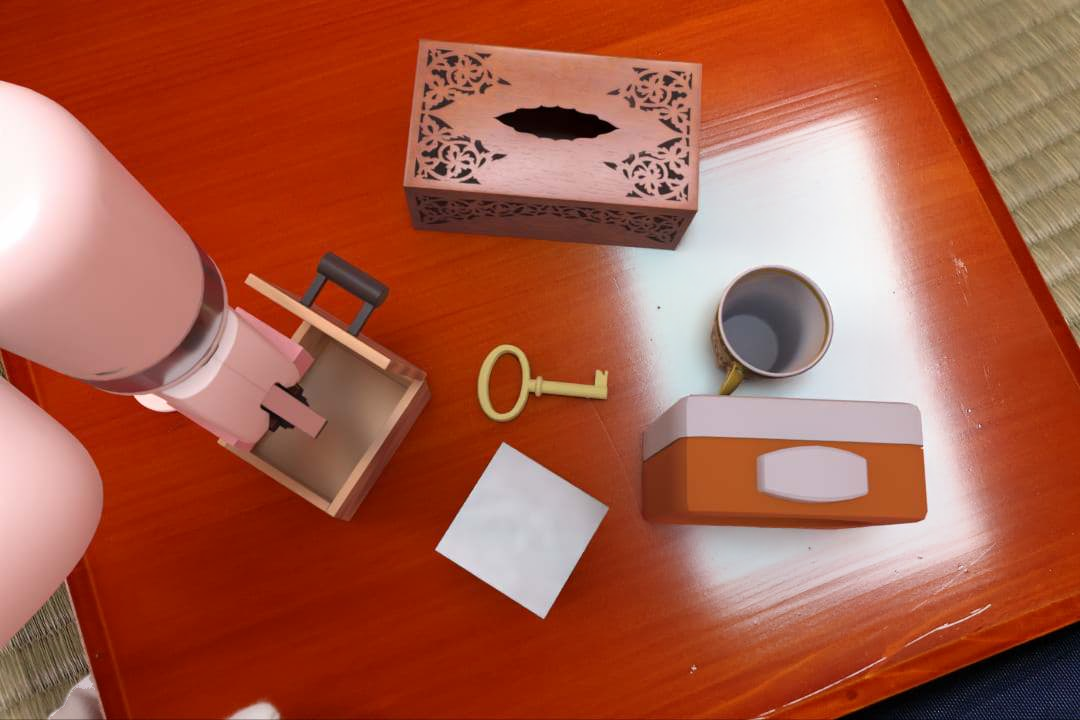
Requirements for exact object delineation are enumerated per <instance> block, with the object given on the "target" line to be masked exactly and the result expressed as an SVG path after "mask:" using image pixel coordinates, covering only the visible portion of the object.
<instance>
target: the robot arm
mask: <svg viewBox="0 0 1080 720" xmlns="http://www.w3.org/2000/svg"><path fill="white" fill-rule="evenodd" d="M0 349H3V350H4V351H7V352H10V353H12V354H13V355H17V356H19V357H21V358H24V359H26V360H28V361H31V362H33V363H35V364H38V365H40V366H43V367H44V368H48V369H50V370H52V371H55V372H57V373H59V374H62V375H64V376H67V377H69V378H71V379H74V380H76V381H79V382H81V383H84V384H86V385H88V386H91V387H93V388H96V389H97V390H99V391H103V392H106V393H109V394H113V395H118V396H119V395H120V396H130V397H131V396H134V395H146V394H151V393H153V394H155V395H156V396H158V397H160V398H162V399H164V400H165V401H167V402H169V403H171V404H173V405H175V406H176V407H178V408H180V409H182V410H184V411H186V412H188V413H190V414H192V415H194V416H195V417H197V418H199V419H201V420H203V421H205V422H207V423H209V424H211V425H213V426H215V427H217V428H218V429H220V430H222V431H224V432H226V433H228V434H229V435H231V436H233V437H235V438H236V439H238V440H240V441H242V442H244V443H255V442H258V441H259V439H260V438H261V437H262V436H263V435H264V434H265V432H266V431H267V430H270V431H272V432H275V431H276V430H277V429H278V428H279V426H281V427H283V428H284V429H287V428H289V429H294V427H295V426H296V427H297V428H299V429H300V430H302V431H304V432H305V433H307V434H308V435H310V436H311V437H313V438H315V439H317V437H318V436H319V434H320V433H321V431H322V430H323V429H324V427H325V426H326V424H327V423H328V420H327V419H325V418H324V417H322V416H321V415H319V414H318V413H316V412H315V411H314V410H312V409H311V408H309V406H310V405H309V404H308V402H307V398H305V397H304V396H302V393H303V391H304V389H303V388H302V387H301V386H299V385H298V384H297V383H296V382H300V376H299V371H298V369H297V367H296V366H295V364H294V363H293V362H292V361H291V360H290V359H289V358H288V357H287V356H286V355H285V354H284V353H283V352H281V351H280V350H279V349H278V348H277V347H276V346H275V345H274V344H273V343H272V342H271V341H270V340H268V339H267V338H266V337H265V336H264V335H263V334H262V333H260V332H259V331H258V330H257V329H256V328H255V327H254V326H253V325H251V323H250V322H249V321H247V320H246V319H244V318H243V317H242V316H241V315H240V314H239V313H237V312H236V311H235V309H234V308H233V307H232V306H230V305H229V297H228V291H227V286H226V282H225V281H224V278H223V275H222V272H221V270H220V268H219V266H218V265H217V263H216V262H215V261H214V259H212V257H211V256H210V255H209V254H208V253H207V252H206V250H204V248H203V247H201V246H200V244H199V243H197V241H196V240H195V239H194V238H193V237H192V236H191V235H190V234H189V233H188V232H187V231H186V230H185V229H184V228H183V227H182V226H181V225H180V223H178V222H177V221H176V219H174V218H173V216H172V215H171V214H170V213H169V212H168V211H167V210H166V209H165V208H164V207H163V206H162V205H161V204H160V203H159V202H158V201H157V200H156V199H155V197H153V195H152V194H150V193H149V191H147V189H146V188H145V187H144V186H143V185H142V184H141V183H140V181H138V180H137V179H136V178H135V176H133V175H132V174H131V173H130V172H129V170H128V169H127V168H126V167H125V166H124V165H123V164H122V163H121V162H120V161H119V160H118V159H117V158H116V157H115V156H114V155H113V153H111V152H110V150H109V149H108V148H107V147H105V145H103V143H102V142H101V141H100V140H99V139H98V138H97V137H96V136H95V135H94V134H93V133H92V132H91V131H90V130H89V129H88V128H87V127H86V126H85V125H84V124H83V123H82V122H81V121H80V120H78V119H77V118H76V117H75V116H74V115H73V114H72V113H71V112H69V110H67V109H66V108H64V107H63V106H62V105H60V104H59V103H58V102H56V101H55V100H53V99H51V98H49V97H48V96H46V95H43V94H42V93H40V92H37V91H35V90H33V89H31V88H28V87H24V86H22V85H18V84H15V83H11V82H7V81H4V80H0ZM103 485H104V484H103V480H102V478H101V475H100V471H99V469H98V467H97V465H96V463H95V461H94V459H93V458H92V456H91V455H90V453H89V451H88V450H87V448H86V447H85V446H84V445H83V444H82V443H81V441H80V440H79V439H77V437H76V436H74V434H73V433H71V431H70V430H68V429H67V428H66V427H65V426H63V425H62V424H61V423H60V422H59V421H57V420H56V419H55V418H54V417H53V416H52V415H51V414H49V412H47V411H46V410H44V409H43V408H42V407H40V406H39V405H38V404H37V403H36V402H34V401H33V400H32V399H30V398H29V397H28V396H27V395H26V394H24V393H23V392H21V390H19V389H18V388H17V387H15V386H14V385H13V384H11V383H10V382H9V380H7V379H5V378H4V377H3V376H2V375H0V651H1V650H2V649H3V648H4V647H5V646H6V645H7V644H8V643H9V642H10V641H11V640H12V639H13V637H15V635H17V633H19V631H20V630H21V629H22V628H23V627H24V626H25V625H26V624H27V623H28V622H29V621H30V620H31V619H32V618H33V617H34V616H35V615H36V614H37V613H38V612H39V610H40V609H41V608H43V607H44V605H45V604H46V603H47V601H48V600H49V599H50V598H51V597H52V596H53V595H54V593H55V592H56V591H57V590H58V589H59V587H60V586H62V584H63V583H64V582H65V581H66V579H67V578H68V576H70V574H71V573H72V572H73V570H74V569H75V567H76V566H78V565H77V564H78V563H79V562H80V561H81V559H82V558H83V556H84V555H85V553H86V551H87V549H88V548H89V546H90V544H91V542H92V540H93V538H94V536H95V534H96V532H97V529H98V526H99V523H100V521H101V519H102V518H101V517H102V513H103V506H104V486H103Z"/></svg>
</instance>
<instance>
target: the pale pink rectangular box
mask: <svg viewBox="0 0 1080 720" xmlns="http://www.w3.org/2000/svg"><path fill="white" fill-rule="evenodd" d="M234 310H235V311H236V312H237V313H239V314H240V315H241V316H242V317H243V318H244V319H246V320H247V321H249V322H250V323H251V325H253V326H254V327H255V328H256V329H257V330H258V331H259V332H260V333H262V334H263V335H264V336H265V337H266V338H267V339H268V340H270V341H271V342H272V343H273V344H274V345H275V346H276V347H277V348H278V349H279V350H280V351H281V352H283V353H284V354H285V355H286V356H287V357H288V358H289V359H290V360H291V361H292V362H293V363H294V364H295V366H296V367H297V369H298V371H299V376H300V379H301V378H302V376H303V375H304V373H305V372H306V371H307V369H308V368H309V366H310V365H311V364H312V362H313V361H314V359H313V358H312V356H311V355H310V354H309V353H308V352H307V351H306V350H305V349H304V348H303V347H302V346H300V345H298V344H297V343H295V342H294V341H292V340H290V339H291V338H289V337H287V336H285V335H284V334H283V333H281V332H280V331H278V330H276V329H275V328H273V327H271V326H270V325H268V324H267V323H265V322H263V321H262V320H260V319H259V318H257V317H255V316H254V315H252V314H250V313H249V312H248V311H246V310H244V309H243V308H241V307H240V306H237V307H236V308H235V309H234ZM296 383H298V382H296ZM167 404H168V405H169V406H171V407H172V408H174V409H175V410H177V411H176V412H179V413H180V414H182V415H183V416H185V417H186V418H187V419H190V420H191V421H193V422H194V423H196V424H197V425H199V426H200V427H202V428H203V429H205V430H206V431H208V432H210V433H211V434H213V435H214V436H216V437H218V438H221V439H222V440H224V441H225V442H227V443H228V444H230V445H231V446H233V447H236V448H238V449H240V450H243V451H245V452H248V453H249V452H250V450H251V449H252V447H253V446H254V445H255V443H256V442H255V443H244V442H242V441H240V440H238V439H236V438H235V437H233V436H231V435H229V434H228V433H226V432H224V431H222V430H220V429H218V428H217V427H215V426H213V425H211V424H209V423H207V422H205V421H203V420H201V419H199V418H197V417H195V416H194V415H192V414H190V413H188V412H186V411H184V410H182V409H180V408H178V407H176V406H175V405H173V404H171V403H169V402H167Z"/></svg>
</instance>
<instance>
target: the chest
mask: <svg viewBox="0 0 1080 720" xmlns="http://www.w3.org/2000/svg"><path fill="white" fill-rule="evenodd" d="M289 339H290V340H292V341H294V342H295V343H297V344H298V345H300V346H302V347H303V348H304V349H305V350H306V351H307V352H308V353H309V354H310V355H311V356H312V358H313V359H314V361H313V362H312V364H311V365H310V366H309V368H308V369H307V371H306V372H305V373H304V375H303V376H302V378H301V379H300V382H298V383H297V384H298V385H299V386H301V387H302V388H303V389H304V391H303V393H302V396H304V397H305V398H307V402H308V404H309V405H310V406H309V408H311V409H312V410H314V411H315V412H316V413H318V414H319V415H321V416H322V417H324V418H325V419H327V420H328V423H327V424H326V426H325V427H324V429H323V430H322V431H321V433H320V434H319V436H318V437H317V439H315V438H313V437H311V436H310V435H308V434H307V433H305V432H304V431H302V430H300V429H299V428H297V427H296V426H295V427H294V429H289V428H287V429H284V428H283V427H281V426H279V428H278V429H277V430H276V431H275V432H272V431H270V430H267V431H266V432H265V434H264V435H263V436H262V437H261V438H260V439H259V441H258V442H256V443H255V445H254V446H253V447H252V449H251V450H250V452H249V453H248V452H245V451H243V450H240V449H238V448H236V447H233V446H231V445H230V444H228V443H227V442H225V441H224V440H222V439H221V438H219V437H218V438H219V439H218V440H217V441H216V443H217V444H218V445H219V446H222V447H223V448H225V449H226V450H228V451H229V452H231V453H232V454H234V455H236V456H237V457H239V458H240V459H242V460H243V461H245V462H246V463H248V464H249V465H251V466H253V467H254V468H256V469H257V470H259V471H260V472H262V473H263V474H265V475H267V476H268V477H270V478H271V479H273V480H275V481H276V482H278V483H279V484H281V485H283V486H284V487H285V488H287V489H289V490H290V491H292V492H293V493H295V494H297V495H298V496H300V497H301V498H303V499H304V500H306V501H307V502H309V503H311V504H312V505H314V506H315V507H316V508H318V509H320V510H321V511H323V512H324V513H325V514H327V515H329V516H331V517H332V518H336V519H339V520H342V521H343V520H344V521H347V522H350V521H351V520H352V518H353V516H354V515H355V514H356V512H357V510H358V509H359V508H360V506H361V505H362V503H363V501H364V500H365V499H366V497H367V495H368V494H369V492H370V491H371V489H372V487H373V486H374V485H375V483H376V482H377V481H378V479H379V477H380V476H381V474H382V473H383V471H384V470H385V468H386V467H387V465H388V463H389V462H390V460H391V459H392V457H393V456H394V454H395V453H396V451H397V450H398V448H399V447H400V445H401V444H402V443H403V441H404V439H405V438H406V436H407V435H408V433H409V432H410V430H411V429H412V427H413V425H414V424H415V423H416V421H417V420H418V419H419V417H420V415H421V414H422V412H423V411H424V409H425V407H426V406H427V404H428V403H429V401H431V399H432V397H433V395H432V392H431V390H430V387H429V385H428V382H427V380H426V377H425V378H424V380H423V381H419V380H416V379H413V378H410V377H406V376H403V375H400V374H397V373H393V372H390V371H387V370H384V369H382V368H381V367H379V366H377V365H376V364H374V363H373V362H371V361H369V360H368V359H366V358H364V357H363V356H361V355H360V354H358V353H356V352H355V351H353V350H352V349H350V348H348V347H347V346H345V345H344V344H342V343H340V342H339V341H337V340H336V339H334V338H332V337H331V336H329V335H327V334H326V333H324V332H323V331H321V330H319V329H318V328H316V327H315V326H313V325H311V324H310V323H308V322H307V321H305V320H302V322H301V324H300V325H299V327H298V328H297V329H296V330H295V332H294V334H292V336H291V338H289Z"/></svg>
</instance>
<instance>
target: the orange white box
mask: <svg viewBox="0 0 1080 720" xmlns="http://www.w3.org/2000/svg"><path fill="white" fill-rule="evenodd" d="M922 424H923V423H922V412H921V411H920V408H919V407H918V405H916V404H913V403H912V404H911V403H908V402H903V401H901V402H900V401H899V402H898V401H876V400H855V399H854V400H852V399H825V398H823V399H822V398H802V397H801V398H799V397H798V398H797V397H774V396H773V397H771V396H770V397H769V396H752V395H751V396H750V395H746V396H745V395H730V396H728V395H718V394H690V395H686V396H684V397H681V398H679V399H678V400H677V401H676V402H675V403H673V404H672V405H671V406H670V407H669V408H668V409H667V410H666V411H664V412H663V413H662V414H661V415H660V416H659V417H658V418H657V419H655V420H654V421H653V422H652V423H651V424H650V425H649V426H647V428H645V430H644V432H643V434H642V462H643V464H642V515H643V518H644V521H645V522H648V523H650V524H653V525H677V526H705V527H706V526H707V527H741V528H742V527H743V528H767V529H796V530H797V529H798V530H821V531H822V530H823V531H824V530H826V531H827V530H829V531H838V530H848V529H859V528H869V527H882V526H893V525H905V524H915V523H917V524H918V523H920V522H922V521H925V520H926V517H927V515H928V511H929V509H928V508H929V507H928V495H927V494H928V493H927V481H926V479H927V478H926V466H925V465H926V464H925V453H924V440H923V425H922Z"/></svg>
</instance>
